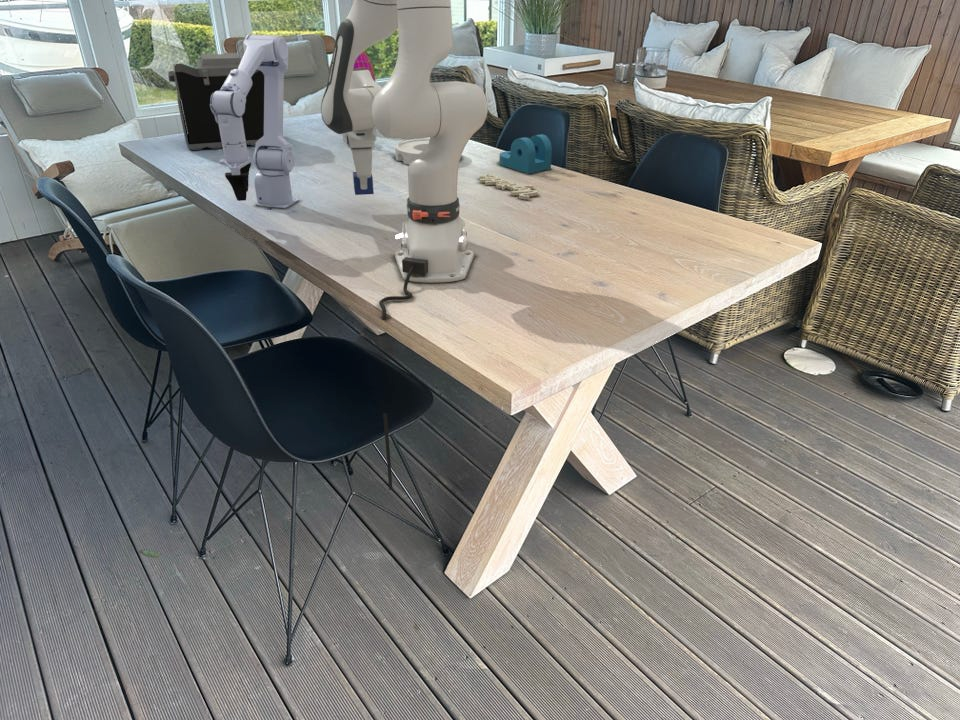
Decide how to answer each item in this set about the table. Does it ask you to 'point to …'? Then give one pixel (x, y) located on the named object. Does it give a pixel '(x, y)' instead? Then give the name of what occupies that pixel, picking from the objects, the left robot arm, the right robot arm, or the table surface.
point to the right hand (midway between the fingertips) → (363, 185)
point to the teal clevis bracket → (528, 154)
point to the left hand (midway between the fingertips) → (242, 195)
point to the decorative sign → (509, 186)
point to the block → (358, 189)
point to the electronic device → (197, 94)
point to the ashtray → (410, 149)
